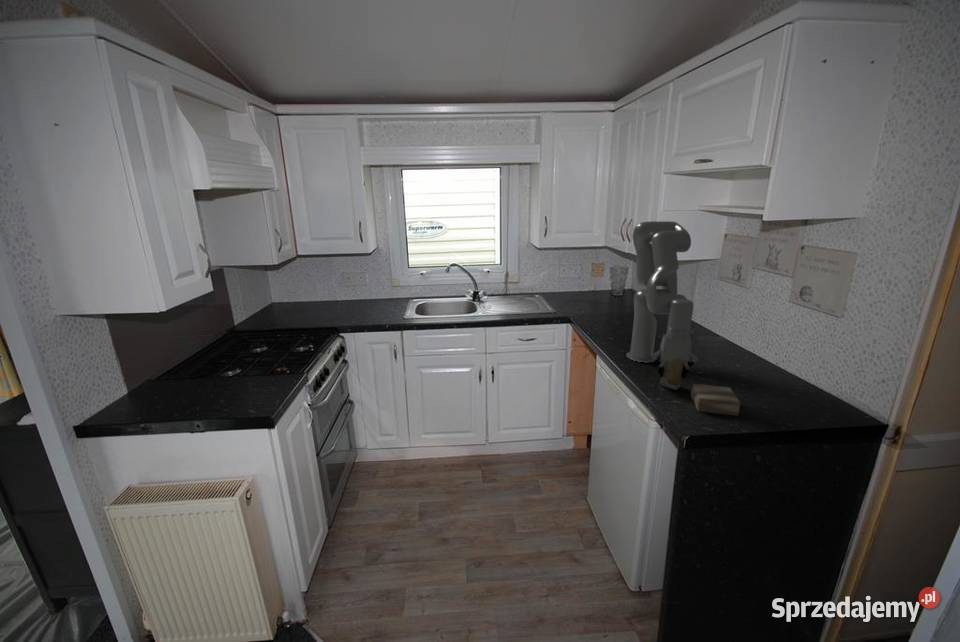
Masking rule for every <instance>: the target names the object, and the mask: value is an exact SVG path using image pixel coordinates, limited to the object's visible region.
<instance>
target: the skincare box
mask: <svg viewBox="0 0 960 642" xmlns="http://www.w3.org/2000/svg"><path fill="white" fill-rule="evenodd" d="M683 367H684V363H683V360H682V359H674V361H673V362H666V363H665V364H664V365H663V368H664V370H663V377H660V381H659V382H660V383H659V385H660V386H662V387H666V388H669V389H671V390H675V391H677V390H678V389H679V388H680V387H681V384H682V379H683V378H682V373H683Z"/></svg>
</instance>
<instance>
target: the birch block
mask: <svg viewBox="0 0 960 642" xmlns="http://www.w3.org/2000/svg"><path fill="white" fill-rule="evenodd" d="M690 397H691V399H692V401H693V403H694V406H695V408H696V410H697V411H698V412H704V413H713V414H721V415H729V416H736V417H738V416H739V413H740V407H741V401H740V400H739V398H738V397H737V395H736V394H735V393H734V391H733V390H732V388H731V387H730V386H719V385H711V384H702V383H701V384H699V383H692V384H691V391H690Z"/></svg>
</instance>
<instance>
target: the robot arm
mask: <svg viewBox="0 0 960 642" xmlns="http://www.w3.org/2000/svg"><path fill="white" fill-rule="evenodd" d="M632 232H633V233H632V242H633V247H634V249H635V252H636V278H637V283H638V285H640V286H642V287H643V286H644V287H645V286H646V287H645V288H644V289H639V290H638V291H636V292H635V294H634V295H633V311H634V313H633V322H632V323H633V325H632V326H633V327H632V335H631V344H630V351H628V352H626V358H627V357H628V358H629V359H628V358H627V359H628V360H630V359H631V360H630V361H632V360H633V361H632V362H635V361H637V363H640V362H644V364H651V363H654V362H655V364H657V366H658V367H657V374H658V375H659V377H660V378H661V377H663V370H664V368H663V365H664V364H665V363H666V362H673V361H674V359H682V360H683V363H684V367H683V373H682V378H681V379H683V380H685V379H686V377H687V376H688V371H689V369H690V368H691V367H693V366H694V365H695V364H696V363H697V362H698V361H699V358H698V357H697V356H696V355H695V354H693V352H692V340H691V336H690V335H692V334H695V330H693V329H691V325H692V318H693V312H694V302H693V301H692V300H691V299H688V298H687V297H686V296H685V295H683V294H678V273H677V271H678V270H679V267H680V266H679V261H678V259H679V258H678V253H686V252H688V251H689V250H690V249H691V245H692V239H691V238H692V237H691V235H690V233H689V232H688V230H687V229H686V228H684V227H683V226H682V225H681V224H680V223H678V222H676V221H669V220H667V221H664V220H663V221H660V220H659V221H655V220H654V221H644V222H639V223H637V224H636V225H635V226H634V228H633V231H632ZM657 287H661V288H657ZM655 315H668V318H667V319H668V320H667V325H666V326H667V327H666V333H663V336H662V338H661V342H660V346H659V350H657V351H656V352H654V350H655V349H654V348H655V341H656V333H657V326H658V321H657V318H656V316H655ZM657 357H660V359H658V358H657ZM650 362H651V363H650Z"/></svg>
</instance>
